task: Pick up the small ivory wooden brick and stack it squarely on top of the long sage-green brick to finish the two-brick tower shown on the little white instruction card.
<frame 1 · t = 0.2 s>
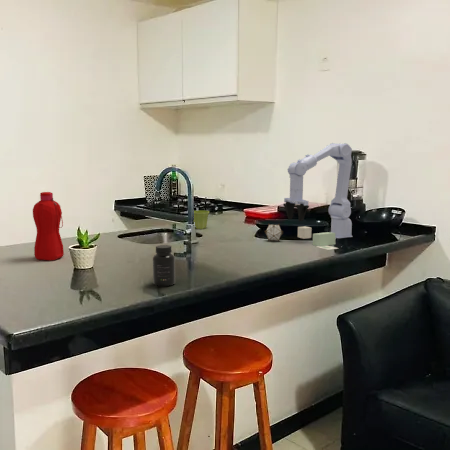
hand: (295, 219, 229), 10 cm above the worktop, tool pointing down, fingers open, 7 cm apart
instruction card: (326, 247, 217), on the worktop
sage brick: (324, 244, 223), on the worktop, touching instruction card
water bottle: (51, 259, 192), on the worktop
plant pot: (200, 228, 264), on the worktop
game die: (273, 241, 231), on the worktop
ivory brick: (304, 237, 240), on the worktop
supplement bottle: (164, 284, 159), on the worktop
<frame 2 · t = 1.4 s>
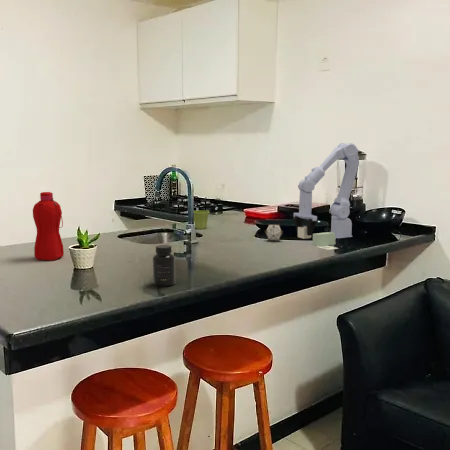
hand: (304, 234, 240), 2 cm above the worktop, tool pointing down, fingers open, 7 cm apart
nothing on the worktop moved.
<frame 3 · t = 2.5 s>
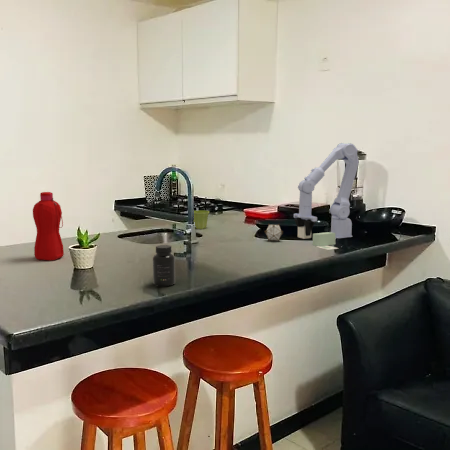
hand: (304, 234, 240), 1 cm above the worktop, tool pointing down, fingers closed on ivory brick, 4 cm apart
ivory brick: (304, 237, 240), on the worktop, touching gripper
everything else where it was.
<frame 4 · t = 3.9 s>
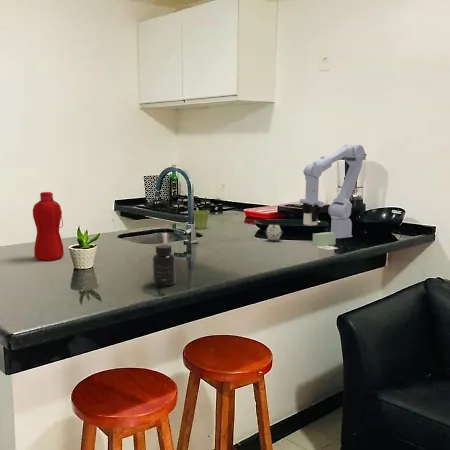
hand: (310, 220, 233), 9 cm above the worktop, tool pointing down, fingers closed on ivory brick, 4 cm apart
ivory brick: (310, 224, 233), point 7 cm above the worktop, touching gripper
everything else where it was.
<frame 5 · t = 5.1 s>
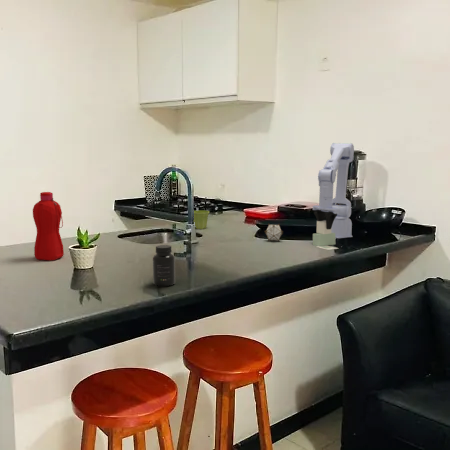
hand: (324, 228, 222), 7 cm above the worktop, tool pointing down, fingers closed on ivory brick, 4 cm apart
ivory brick: (323, 232, 222), point 5 cm above the worktop, touching gripper
everything else where it was.
when the fingers open (7 cm above the worktop, at t = 5.7 s): ivory brick stays where it is, resting on sage brick.
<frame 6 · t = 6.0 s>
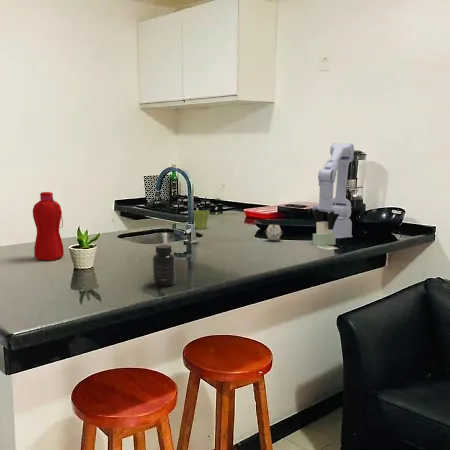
hand: (324, 228, 222), 7 cm above the worktop, tool pointing down, fingers open, 7 cm apart
sage brick: (324, 244, 223), on the worktop, touching instruction card, ivory brick
ivory brick: (323, 233, 222), point 5 cm above the worktop, touching sage brick
everything else where it was.
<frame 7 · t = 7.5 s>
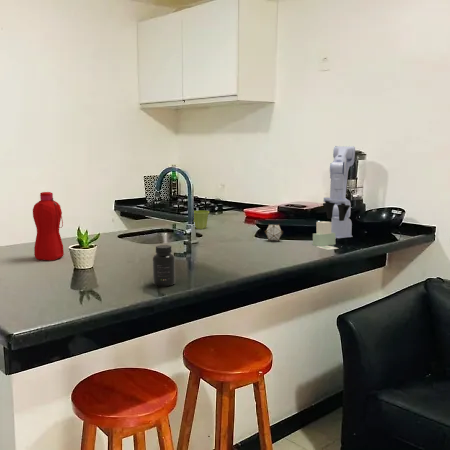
hand: (335, 219, 227), 10 cm above the worktop, tool pointing down, fingers open, 7 cm apart
nothing on the worktop moved.
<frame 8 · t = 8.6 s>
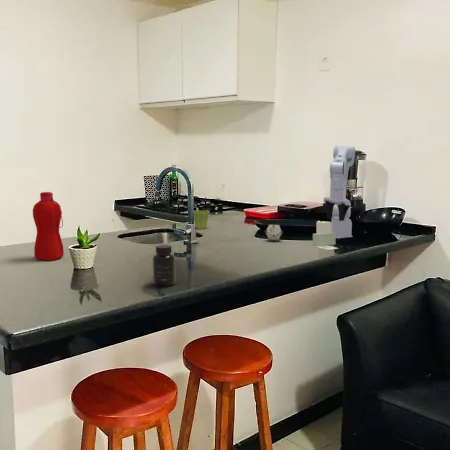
hand: (335, 219, 227), 10 cm above the worktop, tool pointing down, fingers open, 7 cm apart
nothing on the worktop moved.
at the end: ivory brick 0.4 cm off-centre on the sage brick, point 5.0 cm above the sage brick's base; ivory brick tilted 4°; the gripper is holding nothing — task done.
